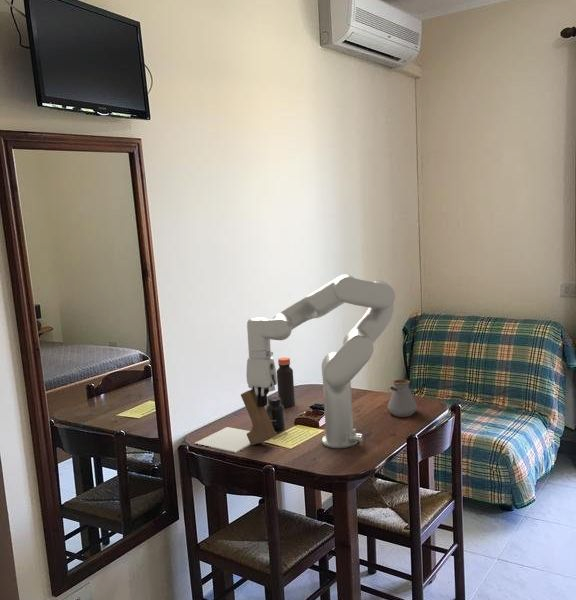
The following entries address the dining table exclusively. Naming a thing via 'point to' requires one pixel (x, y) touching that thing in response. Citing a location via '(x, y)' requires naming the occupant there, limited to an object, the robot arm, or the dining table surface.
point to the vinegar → (285, 382)
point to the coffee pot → (401, 399)
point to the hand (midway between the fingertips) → (262, 405)
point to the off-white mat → (227, 440)
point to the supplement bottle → (276, 413)
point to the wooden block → (257, 419)
